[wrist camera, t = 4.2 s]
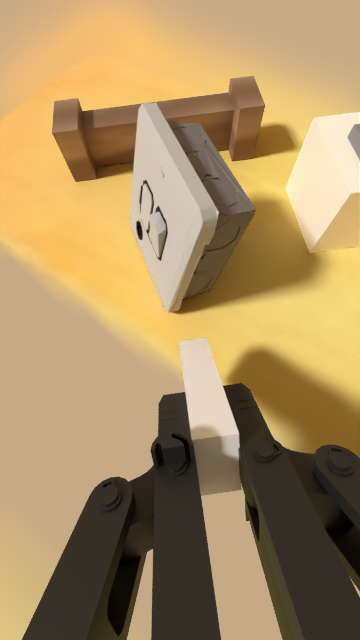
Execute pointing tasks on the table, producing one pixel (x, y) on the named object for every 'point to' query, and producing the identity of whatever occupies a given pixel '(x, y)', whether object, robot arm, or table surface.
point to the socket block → (328, 183)
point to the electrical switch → (183, 206)
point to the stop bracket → (121, 122)
